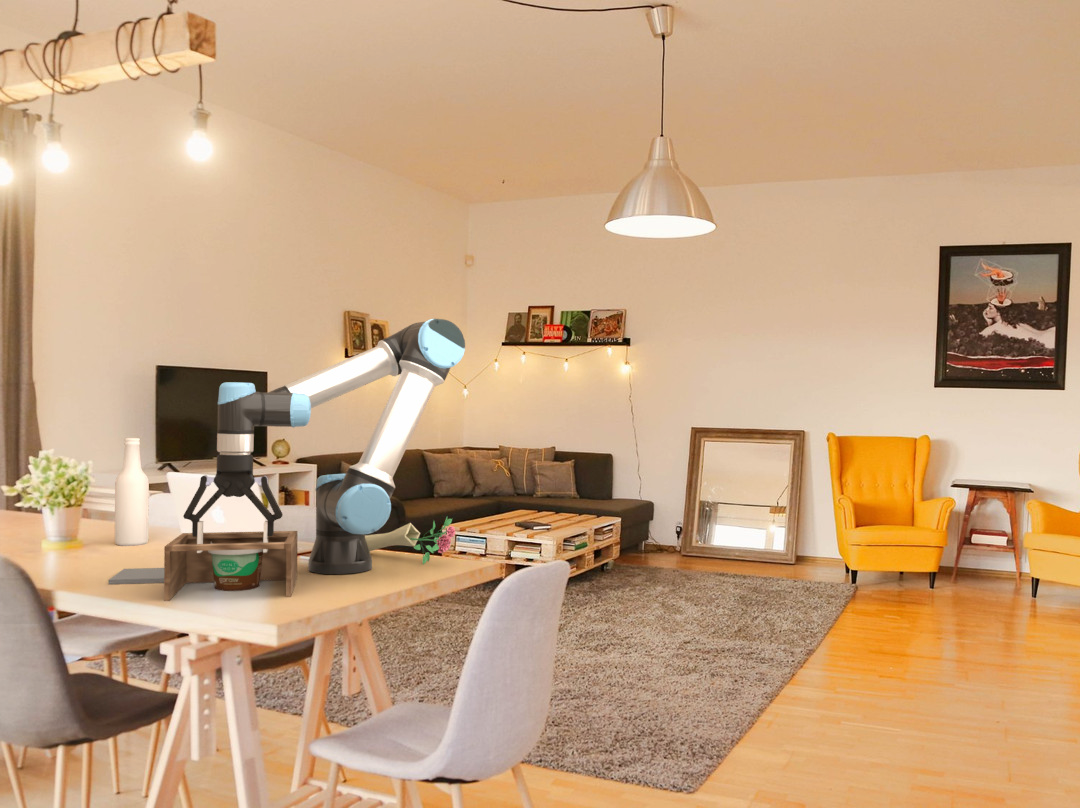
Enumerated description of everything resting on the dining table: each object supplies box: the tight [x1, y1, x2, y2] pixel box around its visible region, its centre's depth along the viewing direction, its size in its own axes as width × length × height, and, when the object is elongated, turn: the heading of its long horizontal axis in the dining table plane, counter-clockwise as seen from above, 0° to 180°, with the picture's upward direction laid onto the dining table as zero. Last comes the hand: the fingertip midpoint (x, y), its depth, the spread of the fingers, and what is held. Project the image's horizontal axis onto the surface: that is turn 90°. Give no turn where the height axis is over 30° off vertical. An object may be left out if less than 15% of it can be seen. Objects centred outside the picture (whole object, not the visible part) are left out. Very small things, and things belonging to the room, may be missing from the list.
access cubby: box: [163, 530, 298, 602], centre depth 203 cm, size 25×20×11 cm
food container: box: [208, 541, 263, 592], centre depth 203 cm, size 12×6×10 cm, turn 97°
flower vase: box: [365, 517, 456, 565], centre depth 241 cm, size 12×12×35 cm
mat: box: [107, 567, 164, 585], centre depth 215 cm, size 14×14×1 cm
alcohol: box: [114, 437, 150, 547], centre depth 266 cm, size 9×9×30 cm
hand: (232, 551), depth 202 cm, fingers open, 13 cm apart
